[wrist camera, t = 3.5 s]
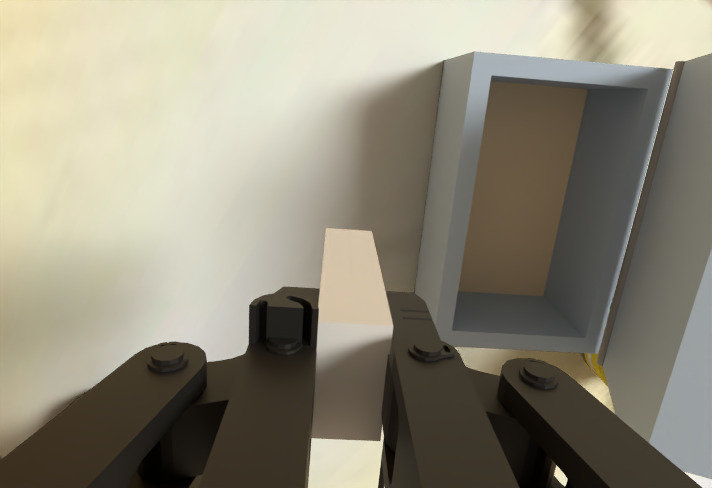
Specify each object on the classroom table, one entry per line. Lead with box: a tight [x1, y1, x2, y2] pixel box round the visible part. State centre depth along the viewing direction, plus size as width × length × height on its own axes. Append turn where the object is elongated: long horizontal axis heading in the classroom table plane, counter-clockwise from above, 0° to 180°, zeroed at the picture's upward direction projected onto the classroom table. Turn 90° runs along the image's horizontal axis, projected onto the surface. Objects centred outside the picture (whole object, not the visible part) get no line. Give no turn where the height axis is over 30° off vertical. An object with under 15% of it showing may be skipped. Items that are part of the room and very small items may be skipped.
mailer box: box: [415, 52, 673, 354], centre depth 29 cm, size 10×16×7 cm, turn 176°
